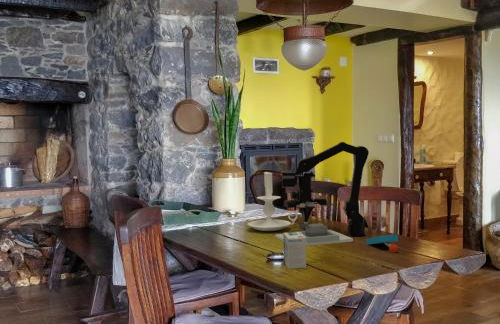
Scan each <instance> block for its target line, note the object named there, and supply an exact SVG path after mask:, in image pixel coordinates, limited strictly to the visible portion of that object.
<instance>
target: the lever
mask: <svg viewBox="0 0 500 324" xmlns="http://www.w3.org/2000/svg"><path fill="white" fill-rule="evenodd" d="M365 241H366V245H370V246H371V245H380V244H384V245H385V246H387V247H388V250H389V252H390V253H392V254H395V253H396V254H397V252H399V246H398V245H397V244H393V242H398V241H399V236H398V234H389V235H379V236H374V237H368V238H365ZM391 243H392V244H391Z"/></svg>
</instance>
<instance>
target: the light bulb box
mask: <svg viewBox="0 0 500 324" xmlns="http://www.w3.org/2000/svg"><path fill="white" fill-rule="evenodd" d="M282 234H283V241H282V243H283V262H284V264H285V266H286V268H287V269H289V270H291V269H306V268H307V250H306V249H307V248H306V247H307V246H306V237H305V236H304V235H303V234H302V233H301V232H300V231H294V232H293V231H292V232H290V231H289V232H283V233H282Z"/></svg>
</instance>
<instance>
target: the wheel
mask: <svg viewBox="0 0 500 324" xmlns="http://www.w3.org/2000/svg"><path fill="white" fill-rule="evenodd" d="M298 224H299V229H300V230H303V229H305V226H309V224H313V223H312V222H309V221H307V222H305V221H303V222H300V223H298Z"/></svg>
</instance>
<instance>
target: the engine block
mask: <svg viewBox="0 0 500 324" xmlns="http://www.w3.org/2000/svg"><path fill="white" fill-rule="evenodd" d="M328 230H329V229H328V226H326V225H324V224H323V223H322V222H321V223H320V222H319V223H312V224H309V226H305V236H307V237H319V236H328Z"/></svg>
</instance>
